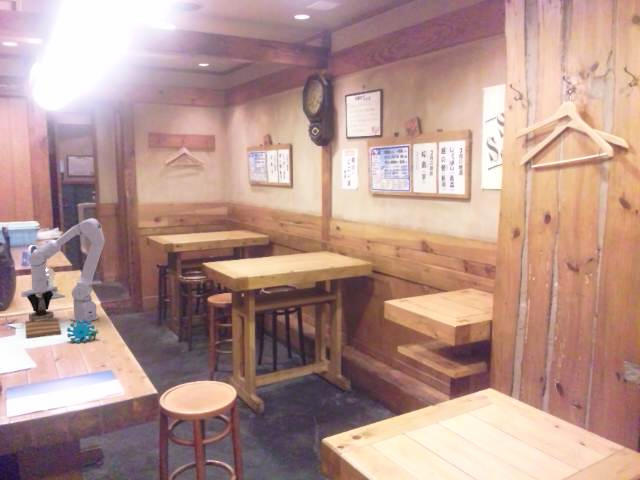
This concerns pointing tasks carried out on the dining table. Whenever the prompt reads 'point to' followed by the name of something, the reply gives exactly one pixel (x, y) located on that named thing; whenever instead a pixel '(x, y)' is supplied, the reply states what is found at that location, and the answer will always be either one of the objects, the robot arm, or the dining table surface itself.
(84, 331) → the gear
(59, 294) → the shower valve
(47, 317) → the brown piece
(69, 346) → the dining table surface
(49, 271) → the cup with straw
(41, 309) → the hinge pin
